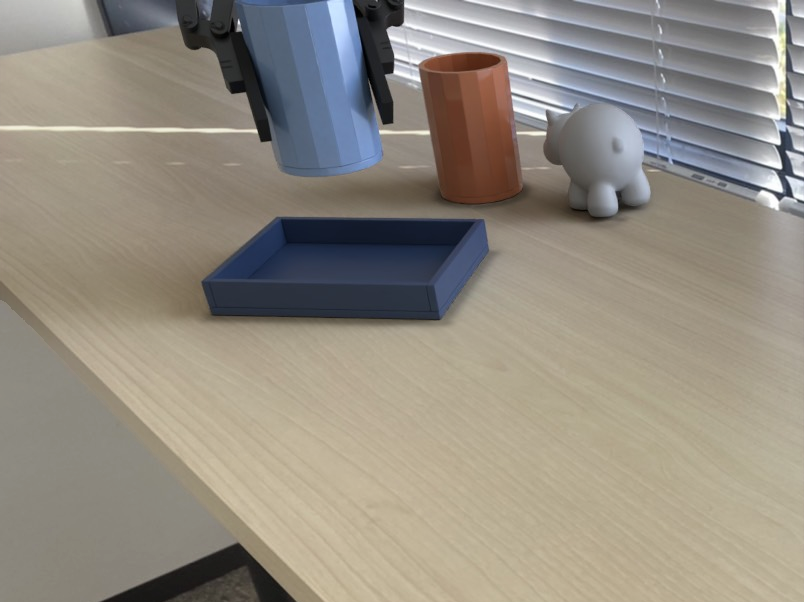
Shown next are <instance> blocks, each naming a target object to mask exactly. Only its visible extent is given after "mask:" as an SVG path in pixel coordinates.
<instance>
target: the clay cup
mask: <svg viewBox="0 0 804 602" xmlns="http://www.w3.org/2000/svg"><path fill="white" fill-rule="evenodd" d="M417 67H418V68H417V69H418V73H419V79H420V85H421V92H422V96H423V102H424V108H425V114H426V119H427V125H428V131H429V138H430V142H431V147H432V154H433V159H434V167H435V172H436V177H437V183H438V187H439V192H440V195H441V197H442V198H443V199H445V200H447V201H449V202H452V203H457V204H465V205H466V204H470V205H471V204H473V205H474V204H475V205H476V204H477V205H478V204H488V203H494V202H500V201H503V200H507V199H509V198H512V197H514V196H516V195H518V194H519V193H521V191H522V190H523V187H524V183H523V181H524V179H523V173H522V165H521V164H522V163H521V158H520V150H519V149H520V148H519V142H518V136H517V135H518V134H517V129H516V128H517V126H516V119H515V111H514V104H513V97H512V96H513V95H512V88H511V82H510V74H509V65H508V59H507V58H506V56H504V55H502V54H498V53H495V52H485V51H464V52H452V53H451V52H450V53H445V54H440V55H434V56H431V57H428V58H425V59H423V60H422V61H420V62H419V63H418V64H417Z"/></svg>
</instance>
